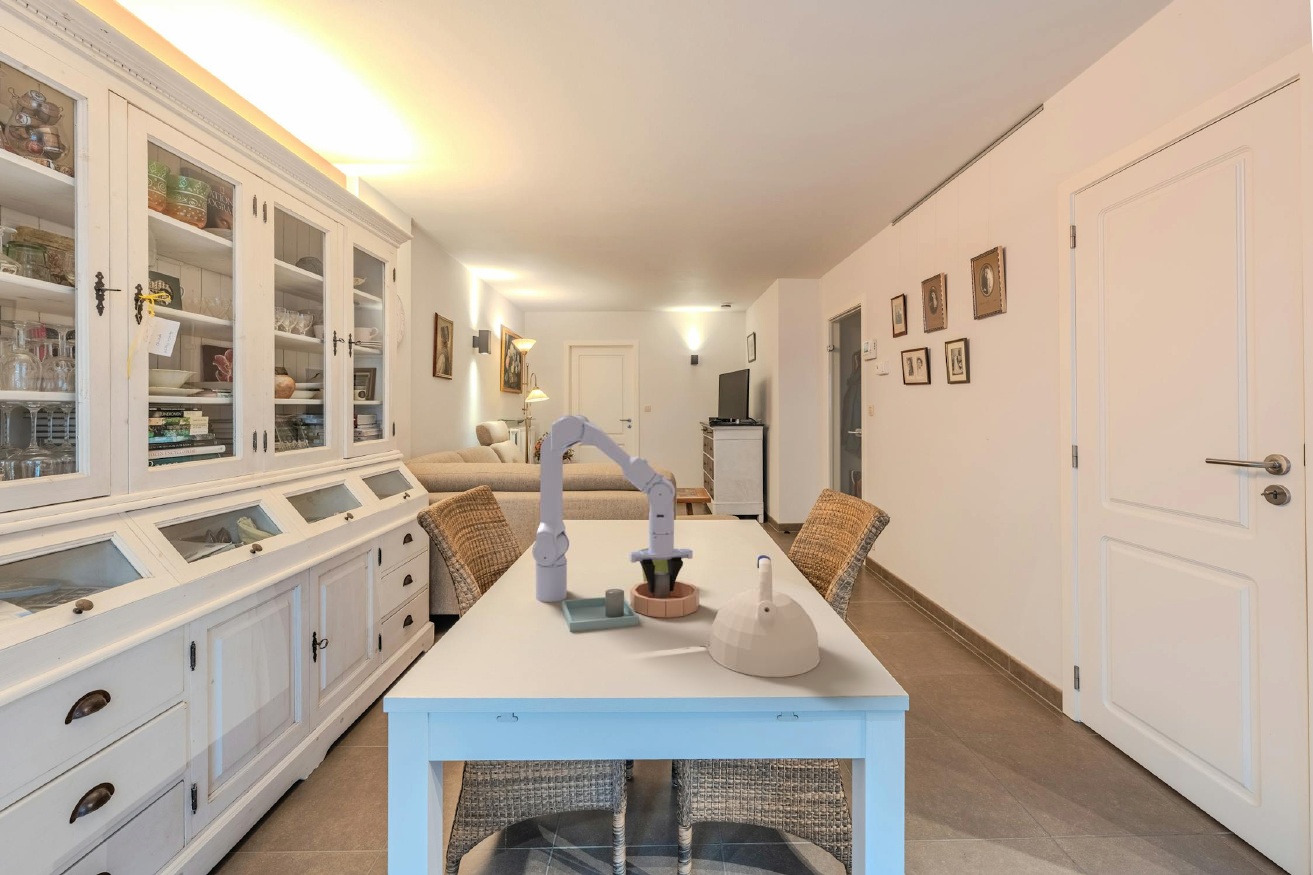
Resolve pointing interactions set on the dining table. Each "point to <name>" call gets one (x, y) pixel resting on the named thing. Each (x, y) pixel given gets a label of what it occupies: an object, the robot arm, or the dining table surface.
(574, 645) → the dining table surface
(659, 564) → the plant pot
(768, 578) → the kettle
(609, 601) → the slate pebble
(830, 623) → the dining table surface
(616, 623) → the parts tray
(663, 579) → the charcoal pebble
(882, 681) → the dining table surface
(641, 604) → the terracotta bowl
